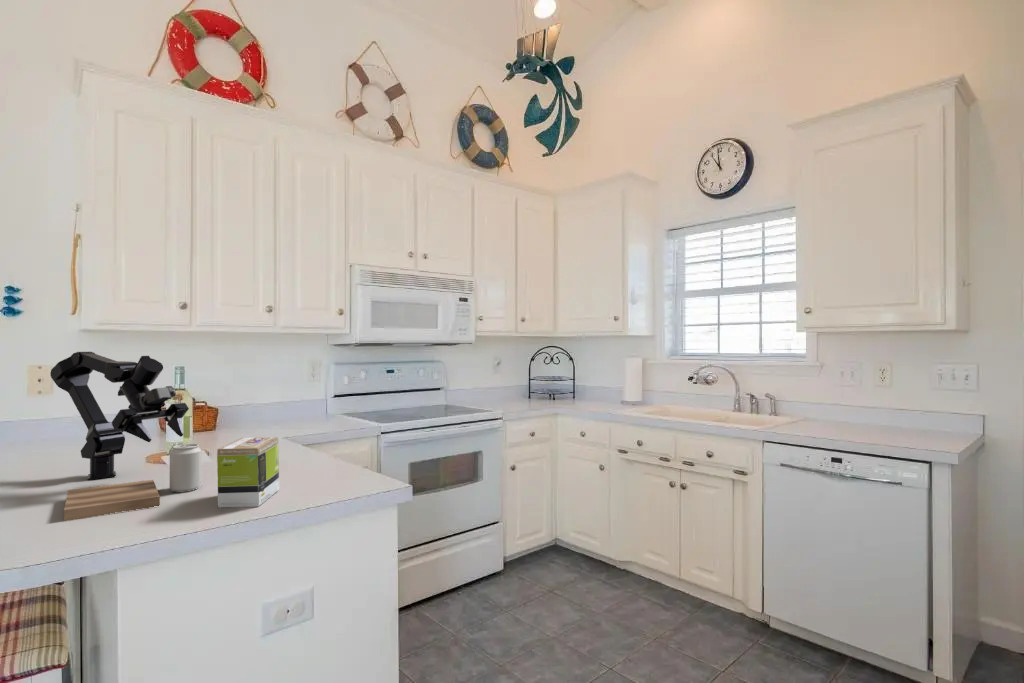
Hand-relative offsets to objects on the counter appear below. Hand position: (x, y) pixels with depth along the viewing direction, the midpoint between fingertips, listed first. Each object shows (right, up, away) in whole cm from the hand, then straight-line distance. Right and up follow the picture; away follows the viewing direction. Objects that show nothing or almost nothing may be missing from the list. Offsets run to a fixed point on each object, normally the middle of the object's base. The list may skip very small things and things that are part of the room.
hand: (166, 438), depth 151 cm
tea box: (+29, -14, -11) cm, 34 cm away
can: (+7, -14, -3) cm, 16 cm away
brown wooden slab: (-3, -14, -16) cm, 21 cm away
